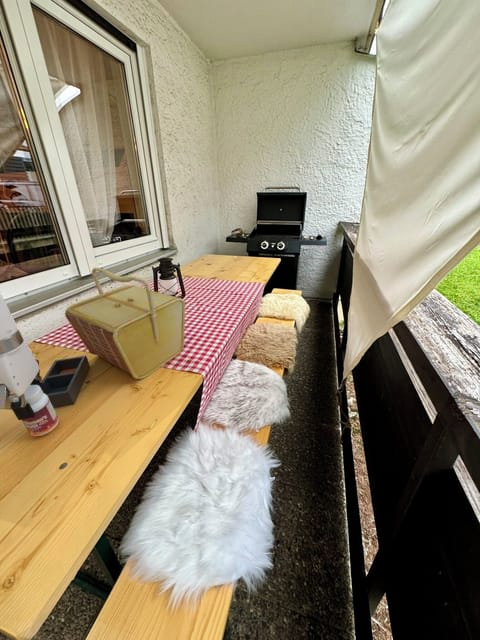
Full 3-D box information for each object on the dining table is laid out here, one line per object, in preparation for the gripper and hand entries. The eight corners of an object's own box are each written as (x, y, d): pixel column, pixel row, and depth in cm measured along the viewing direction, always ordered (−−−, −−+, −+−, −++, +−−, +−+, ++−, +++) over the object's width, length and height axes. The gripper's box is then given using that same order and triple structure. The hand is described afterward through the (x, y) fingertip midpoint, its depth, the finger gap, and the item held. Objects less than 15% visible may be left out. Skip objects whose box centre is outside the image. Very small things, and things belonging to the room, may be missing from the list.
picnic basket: (194, 348, 93) (182, 267, 79) (133, 392, 75) (103, 296, 60) (143, 328, 108) (125, 256, 94) (81, 360, 89) (47, 277, 75)
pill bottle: (28, 441, 60) (7, 406, 55) (31, 423, 65) (11, 389, 60) (59, 429, 63) (41, 395, 58) (59, 412, 68) (43, 379, 62)
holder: (37, 411, 70) (30, 399, 67) (60, 371, 85) (55, 360, 82) (74, 404, 71) (68, 392, 69) (90, 366, 86) (85, 355, 84)
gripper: (1, 325, 59) (32, 384, 67) (-55, 372, 44) (-6, 441, 53) (38, 320, 60) (64, 379, 69) (-4, 365, 46) (36, 433, 54)
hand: (34, 406), depth 61 cm, fingers closed on pill bottle, 6 cm apart
